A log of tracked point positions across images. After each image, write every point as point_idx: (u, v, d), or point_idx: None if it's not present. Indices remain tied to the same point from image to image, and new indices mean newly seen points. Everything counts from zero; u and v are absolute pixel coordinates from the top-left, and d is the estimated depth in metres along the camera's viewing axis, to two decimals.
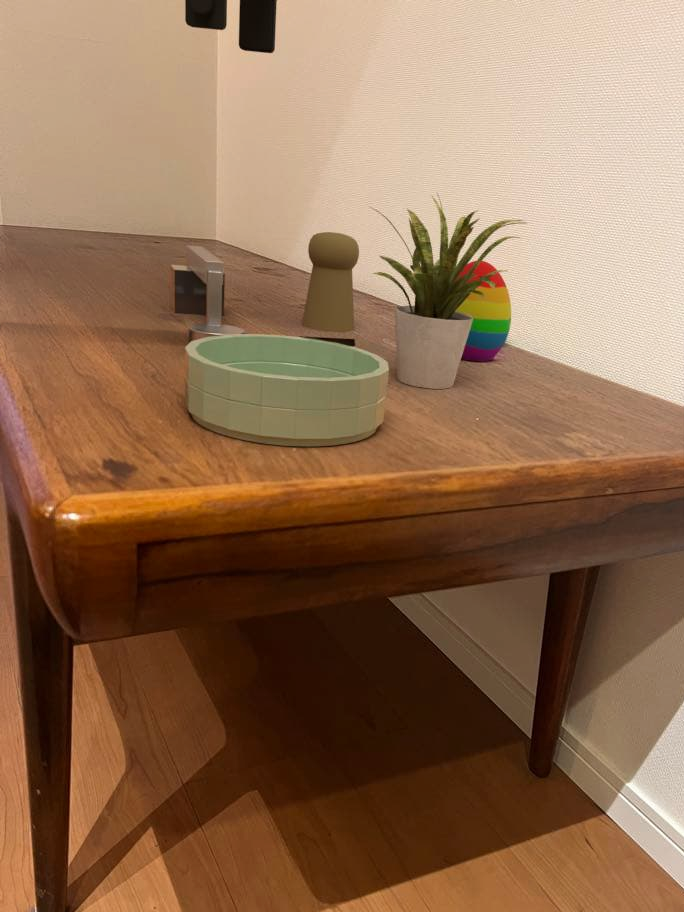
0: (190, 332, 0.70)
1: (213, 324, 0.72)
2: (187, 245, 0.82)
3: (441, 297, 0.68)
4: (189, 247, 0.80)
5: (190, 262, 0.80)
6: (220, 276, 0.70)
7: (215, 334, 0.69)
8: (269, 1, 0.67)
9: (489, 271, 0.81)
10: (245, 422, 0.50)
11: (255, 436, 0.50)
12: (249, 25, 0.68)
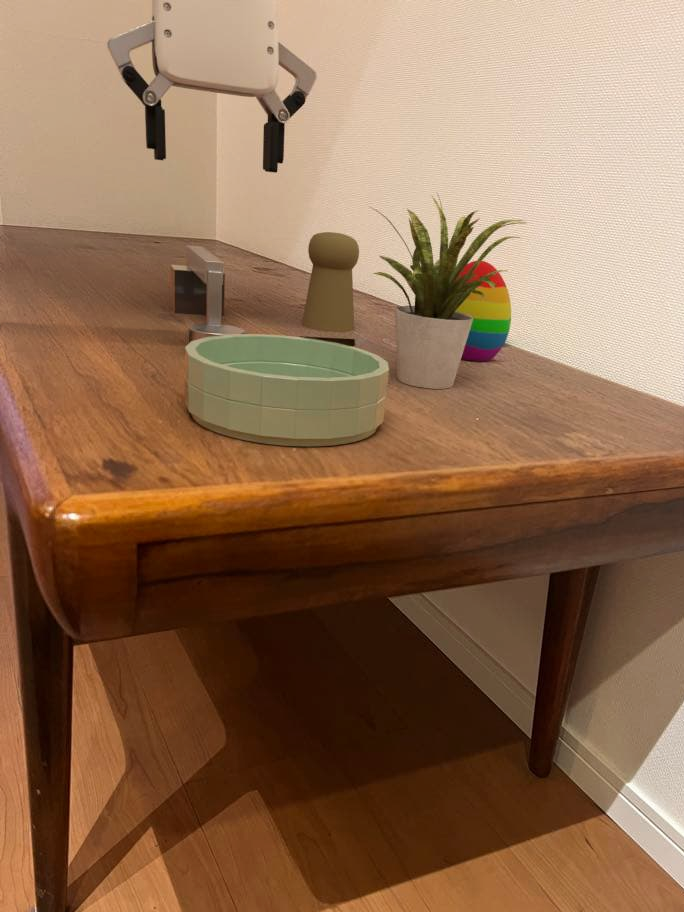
0: (190, 332, 0.70)
1: (213, 324, 0.72)
2: (187, 245, 0.82)
3: (441, 297, 0.68)
4: (189, 247, 0.80)
5: (190, 262, 0.80)
6: (220, 276, 0.70)
7: (215, 334, 0.69)
8: (269, 125, 0.68)
9: (489, 271, 0.81)
10: (245, 422, 0.50)
11: (255, 436, 0.50)
12: (265, 149, 0.71)
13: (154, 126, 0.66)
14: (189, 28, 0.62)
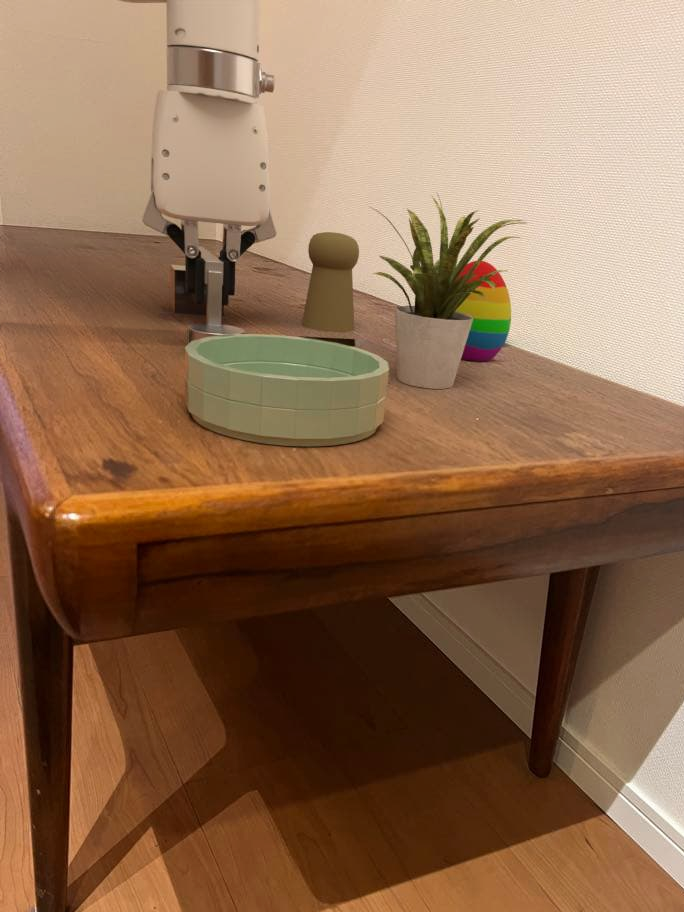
0: (190, 332, 0.70)
1: (213, 324, 0.72)
2: None
3: (441, 297, 0.68)
4: None
5: None
6: (220, 276, 0.70)
7: (215, 334, 0.69)
8: None
9: (489, 271, 0.81)
10: (245, 422, 0.50)
11: (255, 436, 0.50)
12: None
13: (194, 274, 0.72)
14: (186, 171, 0.67)
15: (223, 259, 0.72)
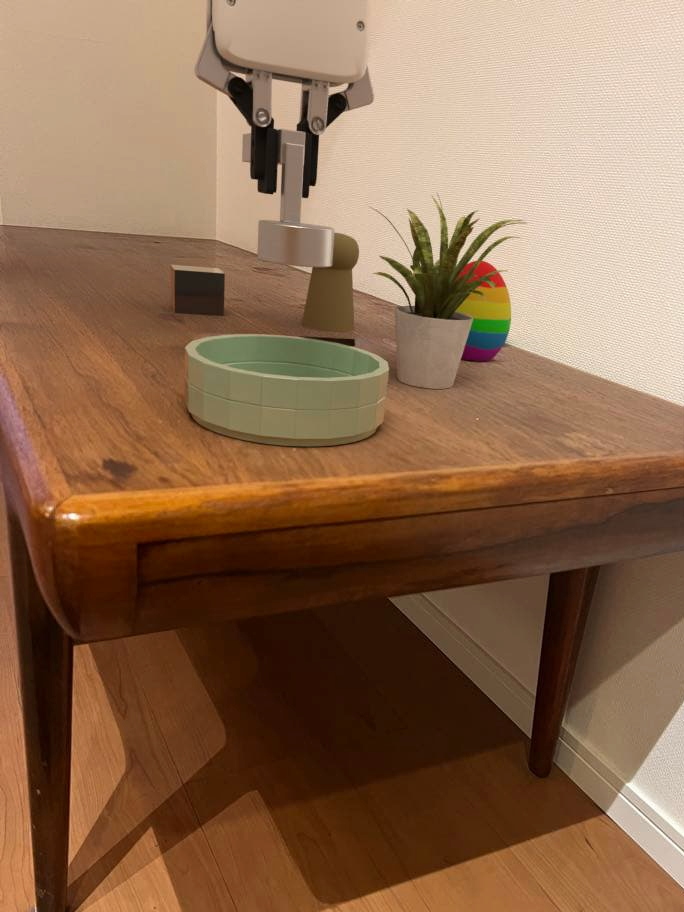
0: (262, 227, 0.50)
1: (290, 220, 0.53)
2: (244, 134, 0.62)
3: (441, 297, 0.68)
4: (248, 133, 0.61)
5: (250, 152, 0.60)
6: (302, 151, 0.51)
7: (298, 227, 0.49)
8: None
9: (489, 271, 0.81)
10: (245, 422, 0.50)
11: (255, 436, 0.50)
12: None
13: (263, 152, 0.52)
14: None
15: None
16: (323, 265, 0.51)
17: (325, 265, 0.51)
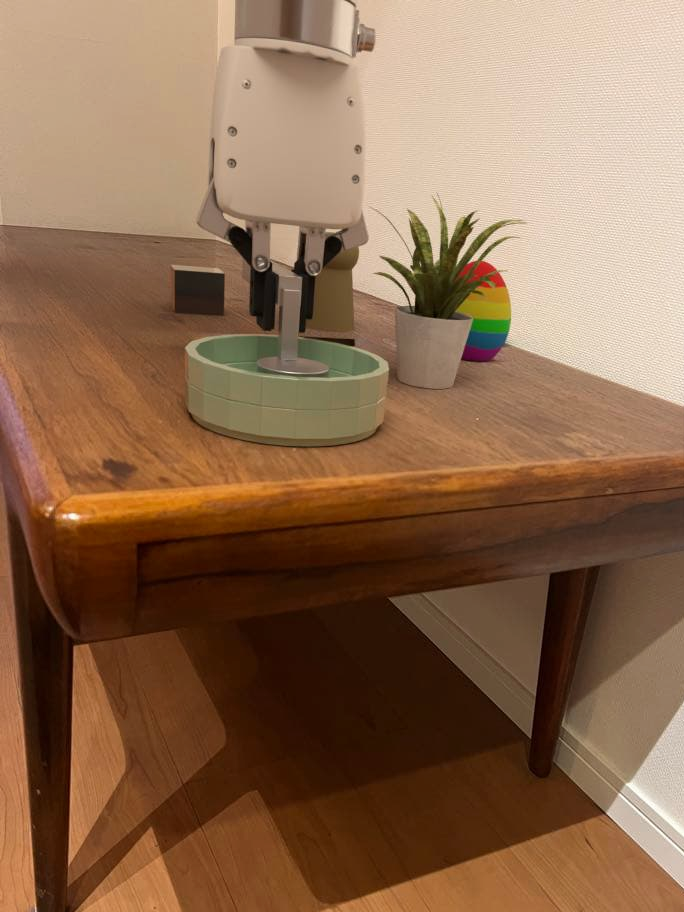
0: (260, 370, 0.53)
1: (287, 358, 0.55)
2: None
3: (441, 297, 0.68)
4: None
5: (249, 275, 0.62)
6: (298, 296, 0.53)
7: (294, 373, 0.52)
8: None
9: (489, 271, 0.81)
10: (245, 422, 0.50)
11: (255, 436, 0.50)
12: None
13: (262, 293, 0.55)
14: (258, 156, 0.50)
15: (300, 273, 0.55)
16: None
17: None
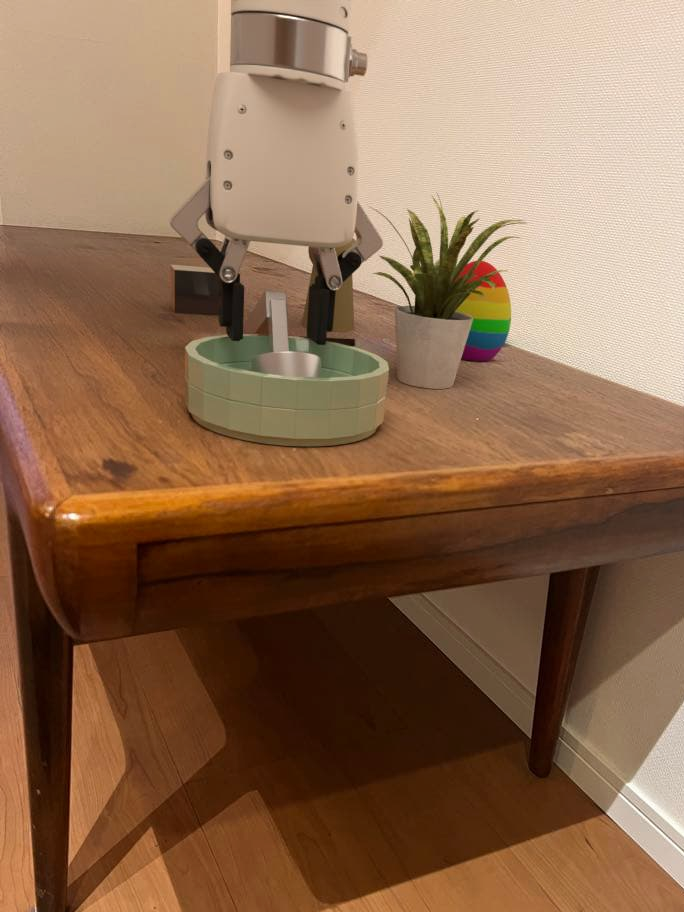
0: (254, 361, 0.55)
1: None
2: None
3: (441, 297, 0.68)
4: None
5: None
6: (284, 304, 0.57)
7: (287, 352, 0.54)
8: (318, 293, 0.57)
9: (489, 271, 0.81)
10: (245, 422, 0.50)
11: (255, 436, 0.50)
12: (310, 315, 0.59)
13: (230, 303, 0.55)
14: (254, 178, 0.51)
15: (321, 287, 0.57)
16: None
17: None
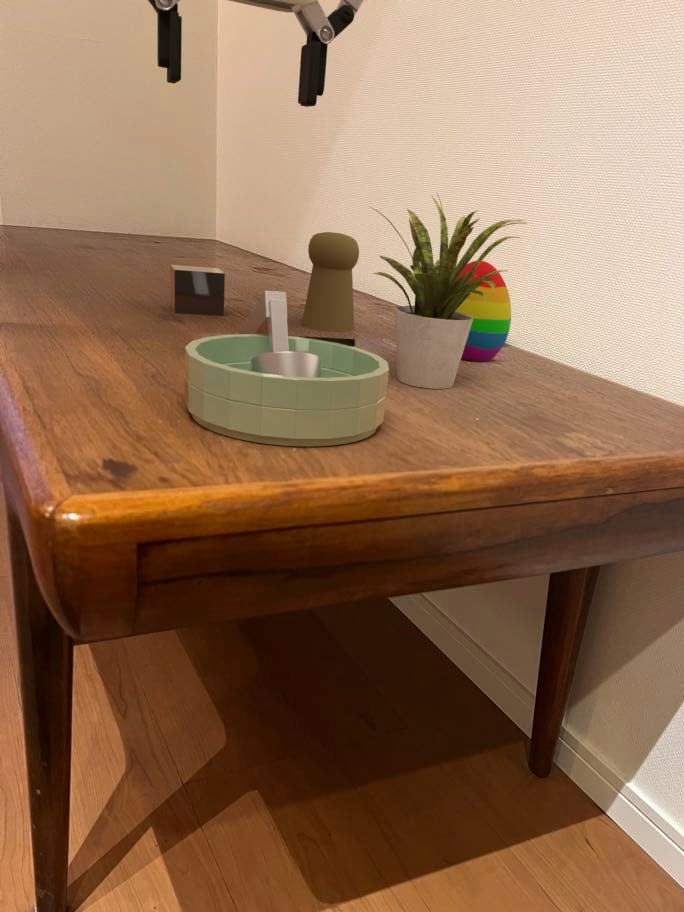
0: (254, 361, 0.55)
1: None
2: None
3: (441, 297, 0.68)
4: (238, 333, 0.69)
5: None
6: (284, 304, 0.57)
7: (286, 352, 0.54)
8: (309, 45, 0.56)
9: (489, 271, 0.81)
10: (245, 422, 0.50)
11: (255, 436, 0.50)
12: (302, 77, 0.58)
13: (168, 38, 0.53)
14: None
15: (312, 41, 0.56)
16: None
17: None
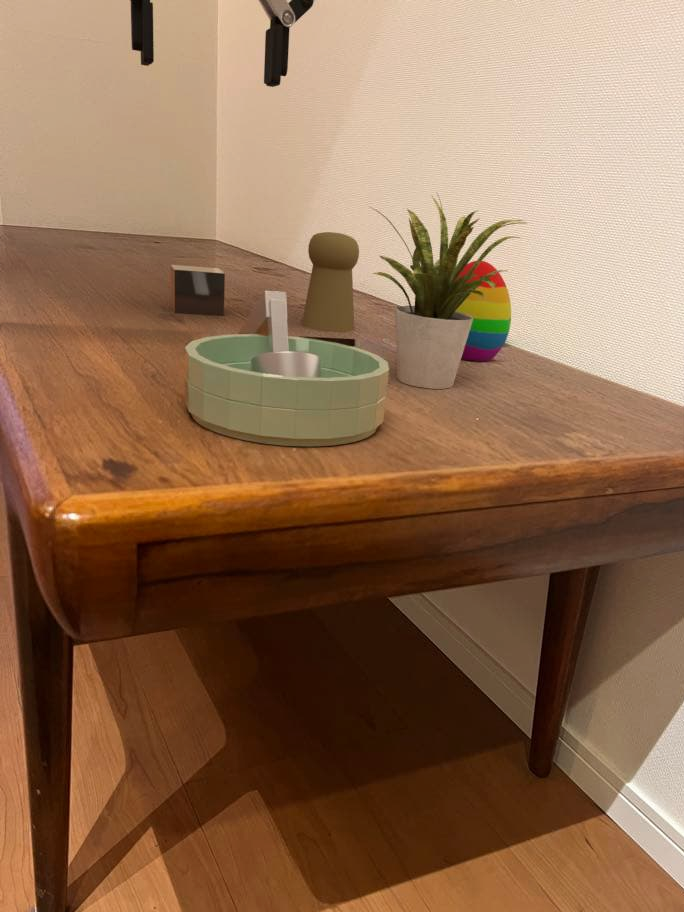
0: (254, 361, 0.55)
1: None
2: None
3: (441, 297, 0.68)
4: (238, 333, 0.69)
5: None
6: (284, 304, 0.57)
7: (286, 352, 0.54)
8: (272, 28, 0.60)
9: (489, 271, 0.81)
10: (245, 422, 0.50)
11: (255, 436, 0.50)
12: (267, 58, 0.63)
13: (140, 22, 0.58)
14: None
15: (275, 24, 0.61)
16: None
17: None
